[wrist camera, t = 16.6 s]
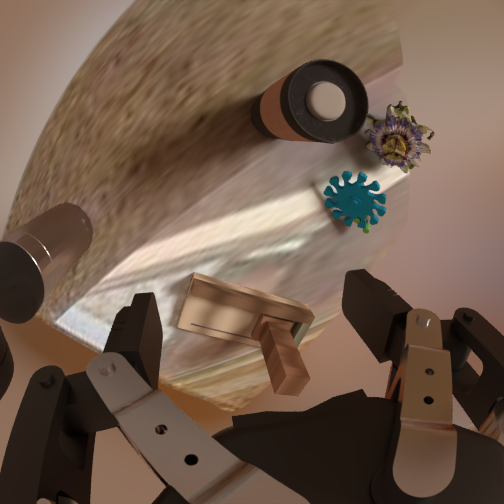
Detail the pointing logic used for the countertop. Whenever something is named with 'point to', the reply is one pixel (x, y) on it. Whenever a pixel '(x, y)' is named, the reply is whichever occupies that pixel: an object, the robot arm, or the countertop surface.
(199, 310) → the board
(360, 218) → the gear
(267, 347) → the panel
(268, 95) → the travel mug
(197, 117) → the countertop surface
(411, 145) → the passion flower
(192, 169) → the countertop surface
